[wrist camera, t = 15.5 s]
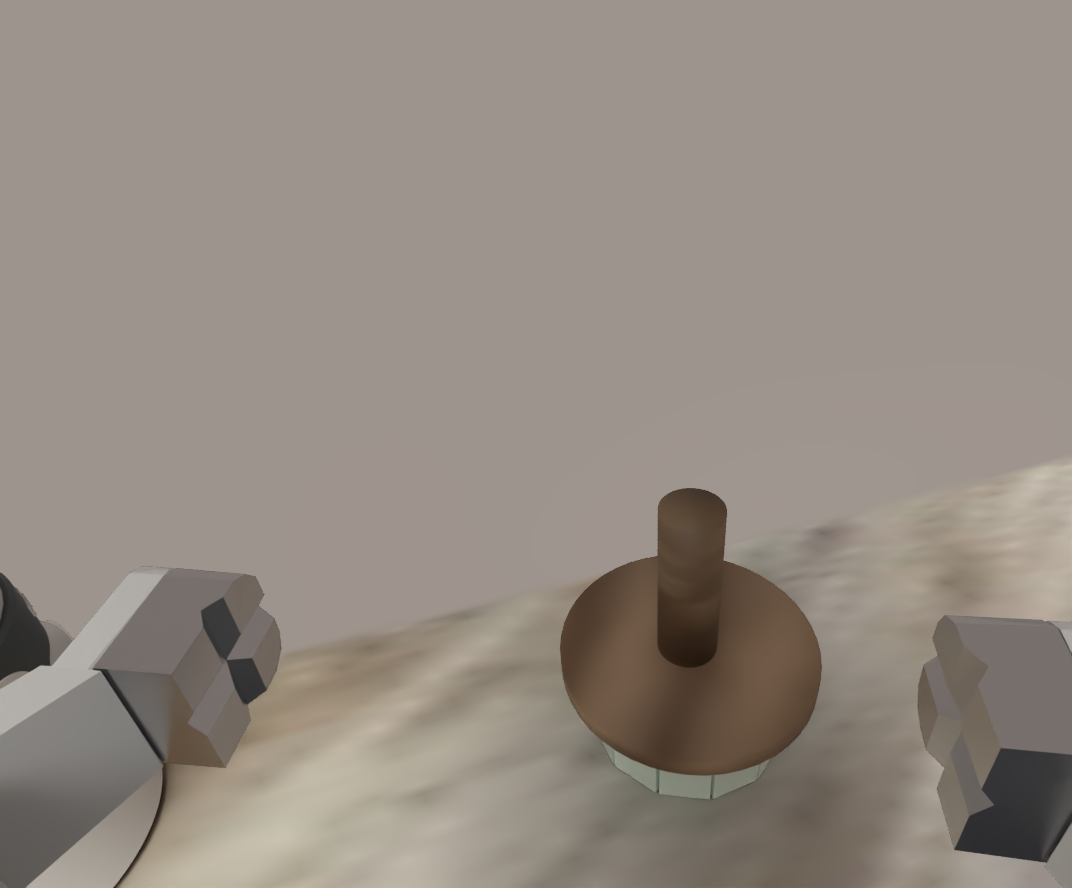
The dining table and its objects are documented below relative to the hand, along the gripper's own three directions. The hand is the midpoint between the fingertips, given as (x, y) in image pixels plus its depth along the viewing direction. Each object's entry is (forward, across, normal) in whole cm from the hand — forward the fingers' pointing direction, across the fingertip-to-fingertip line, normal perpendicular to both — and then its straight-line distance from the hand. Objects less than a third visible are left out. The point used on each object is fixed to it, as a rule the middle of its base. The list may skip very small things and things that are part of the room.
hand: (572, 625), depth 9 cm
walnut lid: (+20, -2, +25) cm, 32 cm away
